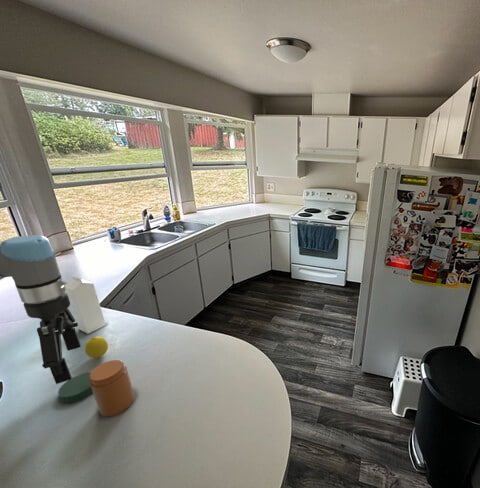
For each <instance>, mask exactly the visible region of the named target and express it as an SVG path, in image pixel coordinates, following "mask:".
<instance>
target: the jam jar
mask: <svg viewBox="0 0 480 488" xmlns="http://www.w3.org/2000/svg"><path fill="white" fill-rule="evenodd" d="M90 372H91V374H90V378H89V379H90V387H91V390H92V395H93V397H94V400H95V403H96V405H97V409H98V412H99V413H100V415H101V416H102V417H113V416H115V415H118V414H120V413H122V412H123V411H125V410H126V409H128V408H129V407H130V406H131V405H132V403H133V402H134V400H135V397H136V396H135V395H136V394H135V392H134V391H135V390H134V388H133V385H132V381H131V378H130V374H129V371H128V367H127V366H126V365H125V363H124V361H122V360H121V359H111V360H108V361H105V362H103V363H101V364H99V365H97V366H96V367H95V368H94V369H93V370H92V371H90Z"/></svg>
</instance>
